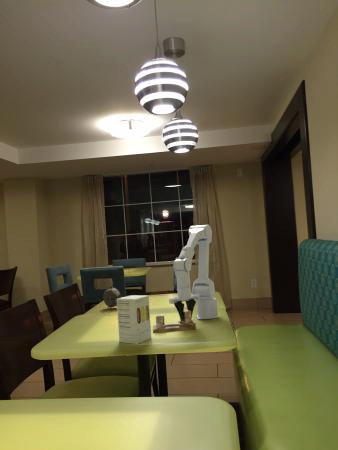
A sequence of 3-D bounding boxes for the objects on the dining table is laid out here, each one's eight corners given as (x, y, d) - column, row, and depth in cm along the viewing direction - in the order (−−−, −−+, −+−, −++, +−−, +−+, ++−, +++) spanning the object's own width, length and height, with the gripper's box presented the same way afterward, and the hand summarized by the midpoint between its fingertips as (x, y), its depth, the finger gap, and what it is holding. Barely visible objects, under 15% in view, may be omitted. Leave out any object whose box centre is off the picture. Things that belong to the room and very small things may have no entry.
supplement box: (137, 344, 135) (134, 299, 136) (118, 342, 140) (115, 298, 140) (152, 337, 143) (149, 295, 144) (133, 336, 148) (130, 294, 149)
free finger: (186, 320, 158) (185, 309, 158) (191, 322, 155) (190, 310, 155) (180, 322, 157) (179, 310, 157) (184, 324, 153) (183, 312, 153)
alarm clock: (122, 308, 214) (120, 280, 214) (116, 310, 209) (114, 281, 210) (108, 307, 219) (106, 280, 220) (102, 309, 215) (100, 281, 216)
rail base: (193, 324, 160) (192, 310, 160) (196, 328, 152) (194, 314, 152) (153, 328, 159) (152, 313, 159) (153, 332, 151) (152, 317, 151)
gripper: (192, 283, 163) (194, 314, 163) (164, 287, 156) (166, 319, 155) (201, 284, 157) (204, 316, 156) (172, 289, 150) (175, 322, 149)
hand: (186, 318), depth 156 cm, fingers closed on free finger, 3 cm apart
